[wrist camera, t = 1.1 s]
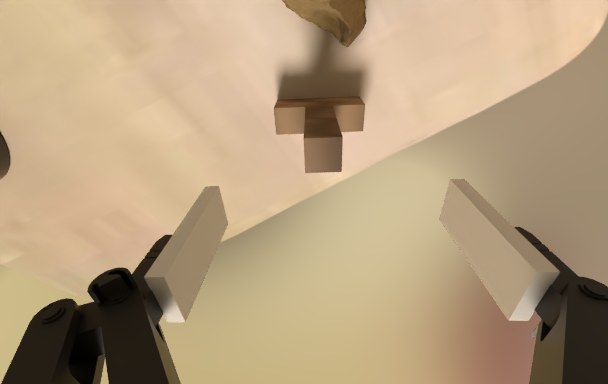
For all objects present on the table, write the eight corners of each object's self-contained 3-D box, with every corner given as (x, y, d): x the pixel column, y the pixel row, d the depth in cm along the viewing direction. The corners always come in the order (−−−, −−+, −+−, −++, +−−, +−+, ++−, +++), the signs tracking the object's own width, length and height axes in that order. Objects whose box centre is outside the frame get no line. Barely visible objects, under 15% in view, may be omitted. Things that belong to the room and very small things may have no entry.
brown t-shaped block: (279, 124, 34) (263, 174, 22) (277, 100, 33) (259, 140, 21) (357, 120, 34) (384, 170, 22) (358, 96, 32) (388, 135, 20)
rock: (396, 30, 27) (376, -108, 21) (360, 68, 22) (321, -91, 16) (312, 52, 33) (279, -47, 28) (272, 84, 29) (222, -24, 23)
